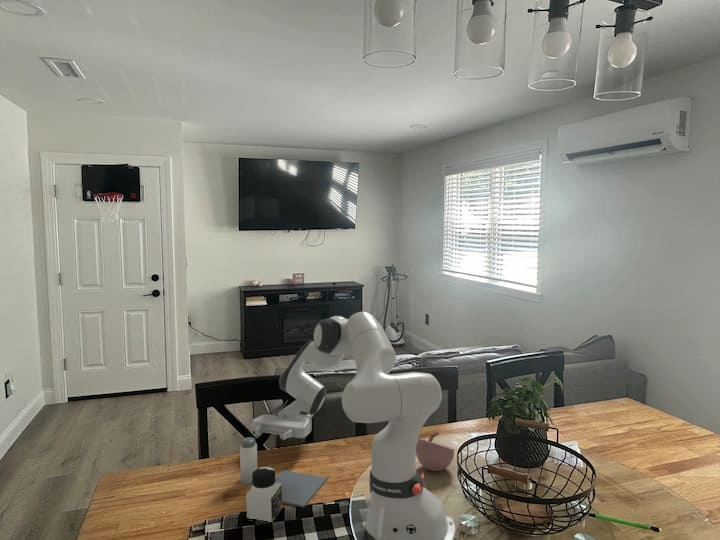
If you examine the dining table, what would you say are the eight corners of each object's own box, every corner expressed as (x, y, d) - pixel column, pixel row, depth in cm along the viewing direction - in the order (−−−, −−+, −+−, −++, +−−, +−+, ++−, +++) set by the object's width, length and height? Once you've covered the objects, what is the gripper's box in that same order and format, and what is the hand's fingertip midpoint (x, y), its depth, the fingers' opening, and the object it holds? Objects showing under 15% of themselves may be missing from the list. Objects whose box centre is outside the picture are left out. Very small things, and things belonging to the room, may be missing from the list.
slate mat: (327, 479, 145) (327, 477, 145) (303, 507, 130) (303, 505, 130) (283, 471, 150) (283, 469, 150) (256, 497, 135) (256, 495, 135)
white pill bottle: (260, 477, 147) (259, 438, 146) (251, 485, 142) (250, 444, 141) (246, 474, 148) (245, 435, 148) (237, 482, 144) (236, 442, 143)
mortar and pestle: (461, 467, 152) (461, 432, 151) (442, 482, 142) (442, 445, 142) (428, 456, 159) (428, 423, 158) (408, 470, 150) (408, 435, 149)
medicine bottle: (272, 523, 123) (271, 478, 122) (246, 520, 125) (245, 475, 124) (282, 507, 130) (281, 465, 129) (257, 505, 132) (256, 463, 131)
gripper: (263, 407, 173) (241, 421, 160) (315, 414, 165) (296, 430, 153) (264, 424, 173) (242, 440, 160) (315, 432, 166) (296, 449, 153)
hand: (269, 435), depth 156 cm, fingers open, 8 cm apart
